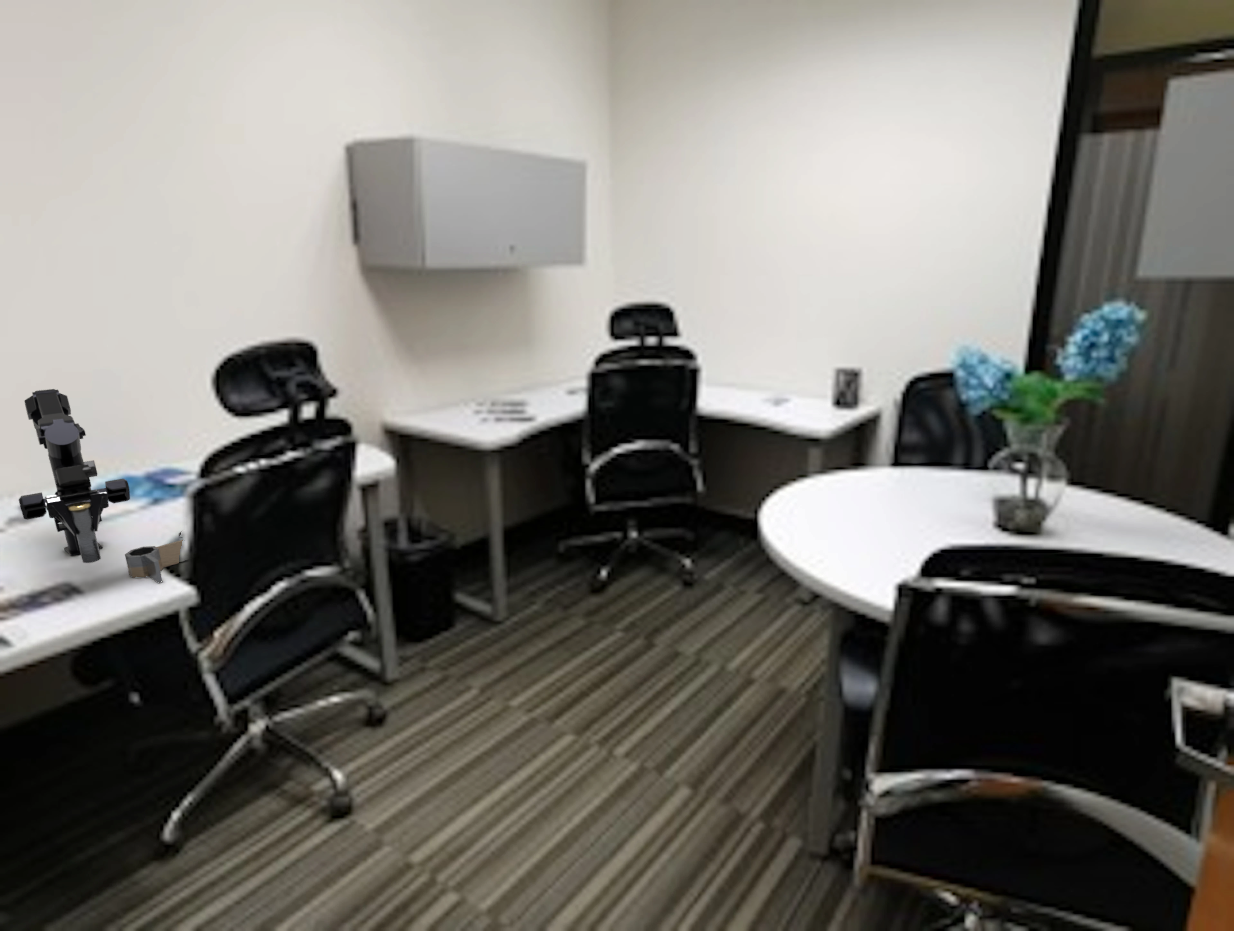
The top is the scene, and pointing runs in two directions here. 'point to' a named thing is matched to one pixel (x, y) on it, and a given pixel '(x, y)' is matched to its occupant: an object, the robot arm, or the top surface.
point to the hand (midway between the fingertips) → (85, 532)
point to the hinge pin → (85, 531)
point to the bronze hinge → (152, 559)
